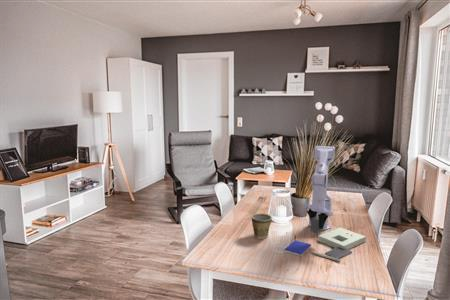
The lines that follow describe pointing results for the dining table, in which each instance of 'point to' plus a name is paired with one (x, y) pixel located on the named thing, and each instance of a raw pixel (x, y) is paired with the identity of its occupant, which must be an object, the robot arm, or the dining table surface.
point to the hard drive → (297, 248)
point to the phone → (338, 252)
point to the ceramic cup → (261, 225)
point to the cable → (326, 256)
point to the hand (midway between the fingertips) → (317, 226)
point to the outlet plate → (342, 238)
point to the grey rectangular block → (315, 224)
